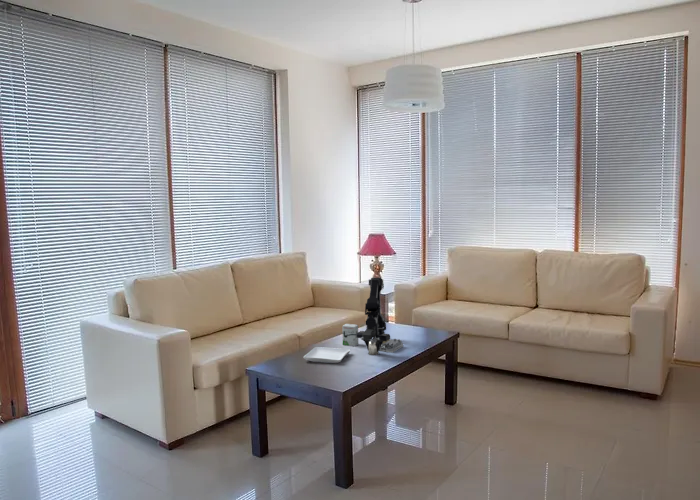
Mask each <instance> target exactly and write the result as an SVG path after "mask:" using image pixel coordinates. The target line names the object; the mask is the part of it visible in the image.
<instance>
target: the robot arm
mask: <svg viewBox="0 0 700 500" xmlns="http://www.w3.org/2000/svg"><path fill="white" fill-rule="evenodd" d="M368 286H369V287H370V290H369V296H368V298H367V299H366V303H365V304H364V305H365V307H364V309H365V310H364V315H365V316H367V318H366V320H365V325H366V328H365V330H359V331H358V333H357V334H356V338H358V339H361V340H362V341H364V344H365V346H366V348H367V351H368V352H369V350H368V341H369V340H373V338H378V340H377V352H378V353H379V352H380V351H379V350H380V347H381V345H382V343H383V341H387V340H389V339H391V335H390V334H389V333H386V332H385V331H387V322H386V321H385V319H384V318H385V317H384V316H383V314H382V311H381V309H382V308H381V307H382V306H381V291H382V290H383V286H384V279H383V278H382V277H370V279H368Z"/></svg>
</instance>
